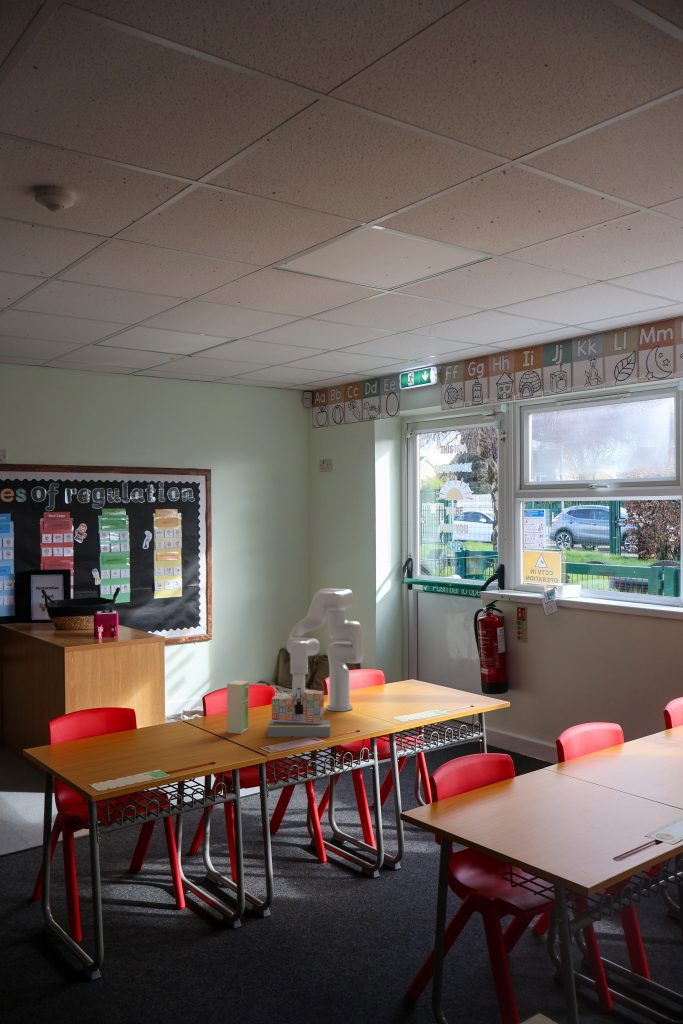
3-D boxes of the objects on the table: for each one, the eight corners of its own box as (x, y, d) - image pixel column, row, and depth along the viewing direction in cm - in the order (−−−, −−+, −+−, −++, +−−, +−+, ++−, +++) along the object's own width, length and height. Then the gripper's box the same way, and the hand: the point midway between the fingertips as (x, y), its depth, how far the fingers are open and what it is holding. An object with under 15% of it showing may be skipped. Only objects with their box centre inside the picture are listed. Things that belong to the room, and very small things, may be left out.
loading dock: (269, 729, 368) (269, 719, 368) (330, 729, 368) (330, 719, 368) (267, 736, 356) (267, 726, 356) (329, 736, 356) (329, 726, 356)
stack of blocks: (271, 720, 361) (271, 691, 361) (275, 716, 367) (275, 688, 368) (320, 722, 357) (320, 693, 357) (324, 719, 363) (324, 690, 363)
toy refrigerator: (242, 734, 360) (242, 684, 360) (226, 733, 362) (226, 683, 362) (250, 729, 367) (250, 681, 368) (235, 728, 370) (235, 680, 370)
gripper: (291, 666, 371) (291, 707, 371) (289, 673, 353) (289, 716, 353) (308, 666, 371) (308, 707, 371) (307, 673, 353) (307, 716, 353)
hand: (299, 711), depth 362 cm, fingers closed on stack of blocks, 7 cm apart
